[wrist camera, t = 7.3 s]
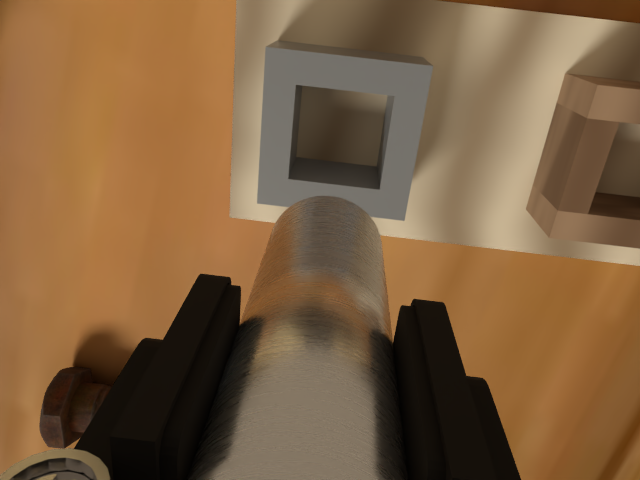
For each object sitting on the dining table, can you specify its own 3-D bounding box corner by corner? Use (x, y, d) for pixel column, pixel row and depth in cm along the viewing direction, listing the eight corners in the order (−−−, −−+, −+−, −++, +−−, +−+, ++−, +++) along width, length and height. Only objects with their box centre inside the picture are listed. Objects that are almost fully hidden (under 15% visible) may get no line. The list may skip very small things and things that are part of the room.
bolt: (270, 395, 42) (81, 377, 41) (270, 372, 38) (60, 352, 37) (260, 474, 38) (54, 455, 38) (258, 458, 34) (28, 436, 34)
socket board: (778, 39, 27) (872, 48, 22) (679, 260, 33) (737, 308, 28) (243, -22, 27) (218, -26, 22) (234, 208, 33) (213, 245, 28)
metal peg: (390, 202, 13) (467, 634, 4) (373, 302, 15) (405, 796, 6) (273, 189, 13) (108, 589, 4) (266, 289, 15) (127, 760, 6)
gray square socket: (422, 56, 27) (433, 65, 24) (398, 194, 30) (404, 220, 27) (277, 40, 27) (265, 46, 24) (268, 179, 30) (256, 203, 27)
